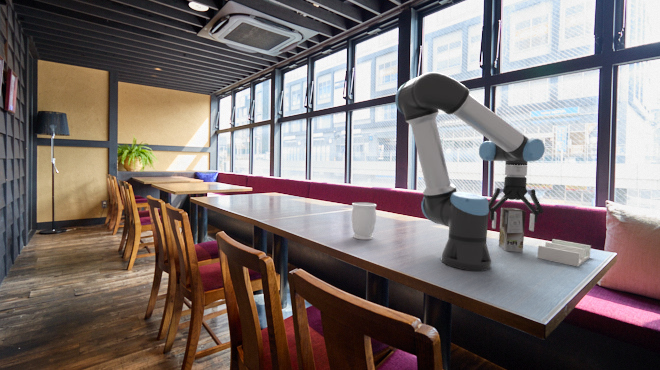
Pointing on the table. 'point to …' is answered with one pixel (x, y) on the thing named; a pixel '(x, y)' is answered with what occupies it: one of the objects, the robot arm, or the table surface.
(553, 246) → the comb rack
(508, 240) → the coffee box
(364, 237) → the jar
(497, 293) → the table surface
